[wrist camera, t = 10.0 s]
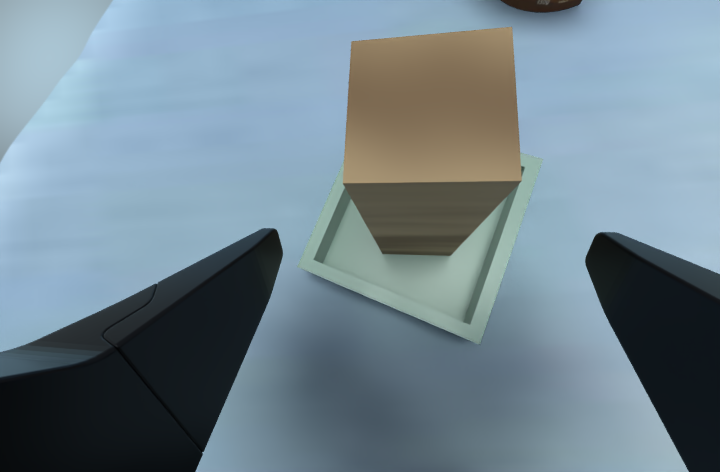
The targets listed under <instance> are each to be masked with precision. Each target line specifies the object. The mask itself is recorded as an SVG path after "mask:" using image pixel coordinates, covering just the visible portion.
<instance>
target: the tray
mask: <svg viewBox="0 0 720 472" xmlns="http://www.w3.org/2000/svg"><path fill="white" fill-rule="evenodd" d="M520 159H521V175H522V181H521V182H520V183H519V184H518V185H517V187H516V188H515V189H514V190H513V191H512V192H511V193H510V194H509V195H508V196H507V197H506V198H505V199H504V200H503V201H502V202H501V203H500V204H499V205H498V206H497V208H496V209H495V210H494V211H493V212H492V213H491V214H490V215H489V216H488V217H487V218H486V219H485V220H484V221H483V222H482V223H481V224H480V225H479V226H478V227H477V229H476V230H475V231H474V232H473V233H472V234H471V235H470V236H469V237H468V238H467V239H466V240H465V241H464V242H463V243H462V244H461V245H460V246H459V247H458V249H457V250H456V251H455V252H454V253H453V254H452V255H451V256H437V255H396V254H382V252H381V250H380V249H379V247H378V245H377V243H376V242H375V240H374V238H373V236H372V235H371V233H370V231H369V229H368V227H367V226H366V224H365V222H364V220H363V219H362V217H361V215H360V213H359V211H358V210H357V208H356V206H355V204H354V203H353V201H352V199H351V197H350V195H349V194H348V192H347V190H346V188H345V187H344V185H343V170H344V162H343V164H342V166H341V168H340V171H339V173H338V175H337V177H336V180H335V182H334V184H333V187H332V189H331V191H330V193H329V196H328V198H327V200H326V203H325V205H324V207H323V209H322V212H321V214H320V216H319V218H318V221H317V223H316V225H315V228H314V230H313V232H312V234H311V237H310V239H309V241H308V243H307V246H306V248H305V250H304V253H303V255H302V257H301V259H300V262H299V264H298V266H297V267H299V268H301V269H303V270H306V271H308V272H310V273H313V274H315V275H317V276H320V277H322V278H324V279H327V280H329V281H331V282H334V283H336V284H338V285H341V286H343V287H345V288H348V289H350V290H352V291H355V292H357V293H359V294H362V295H364V296H366V297H369V298H371V299H373V300H376V301H378V302H380V303H383V304H385V305H388V306H390V307H392V308H395V309H397V310H399V311H402V312H404V313H406V314H409V315H411V316H413V317H416V318H418V319H420V320H423V321H425V322H427V323H430V324H432V325H434V326H437V327H439V328H441V329H444V330H446V331H448V332H451V333H453V334H455V335H458V336H460V337H462V338H465V339H467V340H469V341H472V342H474V343H476V344H479V345H480V343H481V340H482V337H483V334H484V331H485V328H486V325H487V322H488V319H489V316H490V313H491V311H492V308H493V305H494V302H495V299H496V296H497V293H498V290H499V287H500V284H501V281H502V278H503V275H504V272H505V269H506V266H507V264H508V261H509V258H510V255H511V252H512V249H513V246H514V243H515V240H516V237H517V234H518V231H519V228H520V225H521V222H522V219H523V217H524V214H525V211H526V208H527V205H528V202H529V199H530V196H531V193H532V190H533V187H534V184H535V181H536V178H537V175H538V172H539V170H540V167H541V164H542V161H543V159H541V158H537V157H534V156H530V155H527V154H523V153H520Z"/></svg>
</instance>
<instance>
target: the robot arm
mask: <svg viewBox="0 0 720 472" xmlns="http://www.w3.org/2000/svg"><path fill="white" fill-rule="evenodd" d="M282 256H283V250H282V246H281V242H280V239H279V235H278V232H277V230H276V229H273V228H263V229H261V230H259V231H257V232H255V233H253V234H251V235H249V236H247V237H245V238H243V239H241V240H239V241H237V242H235V243H233V244H231V245H230V246H228V247H226V248H224V249H222V250H220V251H218V252H216V253H214V254H212V255H210V256H208V257H206V258H204V259H202V260H200V261H199V262H197V263H195V264H193V265H191V266H189V267H187V268H185V269H183V270H181V271H179V272H177V273H175V274H173V275H171V276H169V277H168V278H166V279H164V280H162V281H160V282H158V284H154V285H152V286H150V287H148V288H146V289H144V290H142V291H140V292H138V293H136V294H134V295H132V296H130V297H128V298H126V299H124V300H122V301H120V302H118V303H116V304H114V305H112V306H109V307H107V308H105V309H103V310H101V311H99V312H97V313H95V314H92V315H90V316H88V317H86V318H84V319H81V320H79V321H77V322H75V323H73V324H70V325H68V326H66V327H64V328H62V329H60V330H57V331H55V332H53V333H51V334H49V335H46V336H44V337H42V338H40V339H38V340H35V341H33V342H31V343H28V344H26V345H23V346H20V347H17V348H14V349H11V350H7V351H3V352H0V472H195V471H196V469H197V466H198V464H199V462H200V460H201V457H202V455H203V453H202V452H204V450H205V447H206V445H207V443H208V440H209V438H210V436H211V433H212V431H213V429H214V427H215V424H216V422H217V420H218V417H219V415H220V413H221V410H222V408H223V406H224V403H225V401H226V399H227V397H228V394H229V392H230V390H231V387H232V385H233V383H234V380H235V378H236V376H237V373H238V371H239V369H240V366H241V364H242V362H243V360H244V357H245V355H246V353H247V350H248V348H249V346H250V343H251V341H252V339H253V336H254V334H255V332H256V330H257V327H258V325H259V323H260V320H261V318H262V316H263V313H264V311H265V309H266V306H267V304H268V302H269V299H270V296H271V293H272V290H273V287H274V284H275V280H276V277H277V274H278V270H279V267H280V264H281V260H282ZM585 263H586V267H587V270H588V272H589V275H590V278H591V280H592V283H593V285H594V288H595V290H596V293H597V296H598V298H599V301H600V303H601V306H602V308H603V311H604V313H605V315H606V317H607V319H608V321H609V323H610V325H611V327H612V329H613V331H614V332H615V334H616V336H617V338H618V340H619V342H620V344H621V346H622V347H623V349H624V351H625V353H626V355H627V357H628V359H629V361H630V362H631V364H632V366H633V368H634V370H635V372H636V374H637V375H638V377H639V379H640V381H641V383H642V385H643V387H644V389H645V390H646V392H647V394H648V396H649V398H650V400H651V402H652V404H653V405H654V407H655V409H656V411H657V413H658V415H659V417H660V419H661V420H662V422H663V424H664V426H665V428H666V430H667V432H668V434H669V435H670V437H671V439H672V441H673V443H674V445H675V447H676V449H677V450H678V452H679V454H680V456H681V458H682V460H683V462H684V464H685V465H686V467H687V469H688V471H689V472H720V274H718V273H715V272H713V271H710V270H708V269H706V268H703V267H701V266H698V265H696V264H693V263H691V262H688V261H686V260H683V259H681V258H678V257H676V256H674V255H671V254H669V253H666V252H664V251H661V250H659V249H656V248H654V247H651V246H649V245H647V244H644V243H642V242H639V241H637V240H634V239H632V238H629V237H627V236H624V235H622V234H619V233H615V232H600V233H598V234H596V236H595V237H594V239H593V242H592V244H591V246H590V249H589V251H588V253H587V256H586V260H585Z"/></svg>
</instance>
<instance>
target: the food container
mask: <svg viewBox="0 0 720 472" xmlns="http://www.w3.org/2000/svg"><path fill="white" fill-rule="evenodd" d="M501 1H502V2H504V3H506V4H507V5H509V6H512V7H514V8H516V9H520V10H524V11H530V12H554V11H560V10H564V9H568V8H571V7H574V6H576V5H579V4H580V3H581V1H582V0H501Z"/></svg>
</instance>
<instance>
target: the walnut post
mask: <svg viewBox="0 0 720 472" xmlns="http://www.w3.org/2000/svg"><path fill="white" fill-rule="evenodd" d="M521 181H522V175H521V159H520V144H519V128H518V112H517V96H516V81H515V65H514V49H513V33H512V27H505V28H494V29H483V30H472V31H461V32H450V33H439V34H428V35H417V36H406V37H395V38H384V39H373V40H362V41H352V42H351V58H350V74H349V90H348V106H347V122H346V138H345V154H344V170H343V185H344V187H345V188H346V190H347V192H348V194H349V195H350V197H351V199H352V201H353V203H354V204H355V206H356V208H357V210H358V211H359V213H360V215H361V217H362V219H363V220H364V222H365V224H366V226H367V227H368V229H369V231H370V233H371V235H372V236H373V238H374V240H375V242H376V243H377V245H378V247H379V249H380V250H381V252H382V254H396V255H437V256H451V255H452V254H453V253H454V252H455V251H456V250H457V249H458V247H459V246H460V245H461V244H462V243H463V242H464V241H465V240H466V239H467V238H468V237H469V236H470V235H471V234H472V233H473V232H474V231H475V230H476V229H477V227H478V226H479V225H480V224H481V223H482V222H483V221H484V220H485V219H486V218H487V217H488V216H489V215H490V214H491V213H492V212H493V211H494V210H495V209H496V208H497V206H498V205H499V204H500V203H501V202H502V201H503V200H504V199H505V198H506V197H507V196H508V195H509V194H510V193H511V192H512V191H513V190H514V189H515V188H516V187H517V185H518V184H519V183H520V182H521Z"/></svg>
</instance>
